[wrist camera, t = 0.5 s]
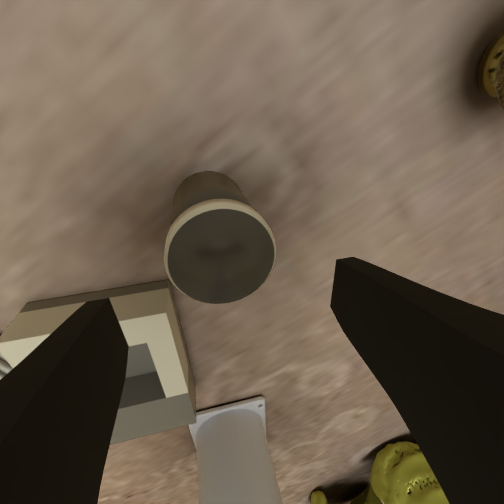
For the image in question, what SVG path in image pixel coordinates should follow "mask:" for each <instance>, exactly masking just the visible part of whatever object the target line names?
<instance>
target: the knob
mask: <svg viewBox="0 0 504 504" xmlns="http://www.w3.org/2000/svg"><path fill="white" fill-rule="evenodd" d="M276 251H277V250H276V242H275V238H274V235H273V233H272V231H271V229H270V228H269V226H268V225H267V223H266V222H265V220H264V219H263V218H262V217H261V215H260V214H259V213H258V212H257V211H256V210H254V209H253V208H252V207H251V206H250V204H249V203H248V201H247V200H246V198H245V197H244V195H243V194H242V192H241V191H240V189H239V188H238V186H237V185H236V184H235V183H234V182H233V181H232V180H231V179H230V178H228V177H227V176H225V175H223V174H221V173H217V172H212V171H204V172H199V173H196V174H193V175H191V176H190V177H188V178H187V179H185V180H184V181H183V182H182V183H181V184H180V186H179V187H178V189H177V191H176V193H175V197H174V203H173V212H172V221H171V227H170V230H169V232H168V234H167V238H166V243H165V250H164V265H165V269H166V272H167V275H168V277H169V279H170V281H171V282H172V283H173V285H174V286H175V287H176V288H177V289H178V290H179V291H180V292H182V293H183V294H185V295H186V296H188V297H190V298H192V299H194V300H197V301H201V302H205V303H213V304H222V303H229V302H233V301H237V300H239V299H242V298H244V297H246V296H248V295H250V294H251V293H253V292H254V291H255V290H257V289H258V288H259V287H260V286H261V285H262V284H263V283H264V282H265V281H266V279H267V278H268V276H269V275H270V273H271V271H272V269H273V267H274V264H275V260H276Z"/></svg>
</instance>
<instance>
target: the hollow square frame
mask: <svg viewBox="0 0 504 504" xmlns="http://www.w3.org/2000/svg"><path fill="white" fill-rule="evenodd" d="M105 298H109V299H110V301H111V304H112V306H113V309H114V311H115V314H116V316H117V319H118V321H119V324H120V326H121V329H122V331H123V334H124V336H125V338H126V341H127V343H128V346H129V349H128V360H127V369H126V377H125V383H124V387H123V392H122V396H121V400H120V404H119V408H118V413H117V417H116V421H115V425H114V429H113V433H112V437H111V441H110V445H112V444H116V443H120V442H124V441H128V440H132V439H136V438H139V437H143V436H147V435H151V434H155V433H159V432H163V431H167V430H171V429H174V428H178V427H182V426H186V425H190V424H194V423H197V418H196V393H195V382H194V378H193V374H192V370H191V366H190V362H189V358H188V354H187V350H186V346H185V342H184V338H183V334H182V330H181V326H180V322H179V318H178V314H177V310H176V305H175V301H174V297H173V293H172V289H171V285H170V281H169V280H164V281H158V282H152V283H146V284H140V285H133V286H127V287H121V288H115V289H109V290H103V291H97V292H90V293H84V294H78V295H72V296H66V297H60V298H54V299H47V300H41V301H35V302H29V303H27V304H26V305H25V306H24V308H23V309H22V310H21V311H20V313H19V314H18V315H17V316H16V318H15V319H14V320H13V321H12V323H11V324H10V325H9V326H8V328H7V329H6V330H5V331H4V333H3V334H2V335H1V336H0V352H1V354H2V355H3V356H4V358H5V359H6V360H7V362H8V363H9V364H10V366H11V367H12V368H14V367H15V366H17V365H18V364H19V363H20V362H21V361H22V360H23V359H24V358H25V357H26V356H28V355H29V354H30V353H31V352H32V351H33V350H34V349H35V348H36V347H37V346H38V345H39V344H41V343H42V342H43V341H44V340H45V339H46V338H47V337H48V336H49V335H50V334H51V333H52V332H53V331H55V330H56V329H57V328H58V327H59V326H60V325H61V324H62V323H63V322H64V321H65V320H66V319H67V318H68V317H70V316H71V315H72V314H73V313H74V312H75V311H76V310H77V309H78V308H79V307H81V306H82V305H83V304H84V303H85V302H87V301H93V300H99V299H105Z"/></svg>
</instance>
